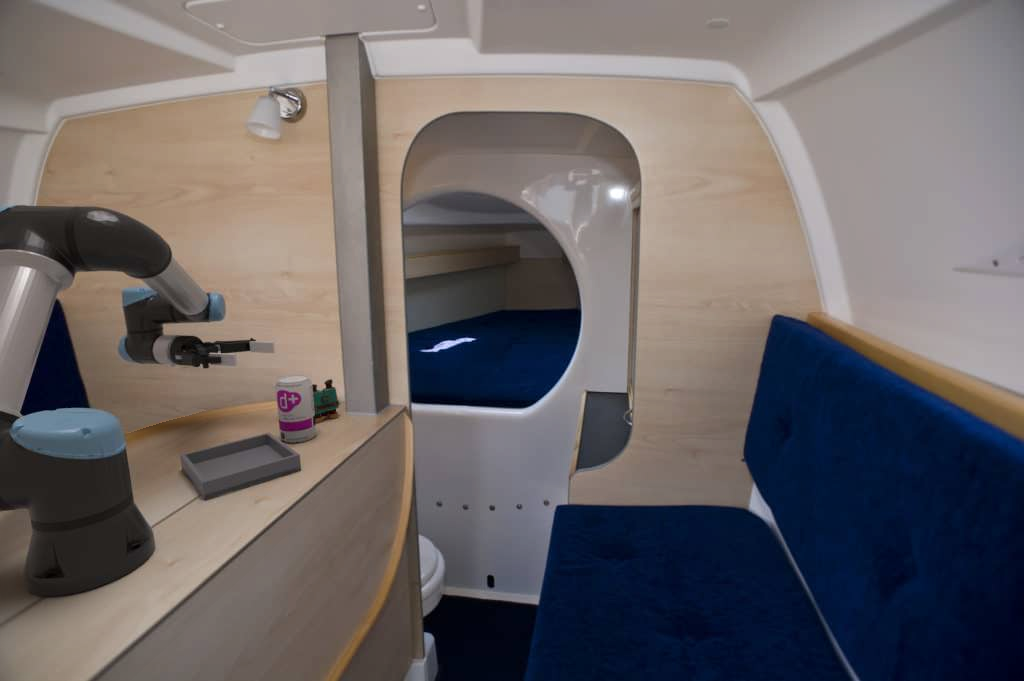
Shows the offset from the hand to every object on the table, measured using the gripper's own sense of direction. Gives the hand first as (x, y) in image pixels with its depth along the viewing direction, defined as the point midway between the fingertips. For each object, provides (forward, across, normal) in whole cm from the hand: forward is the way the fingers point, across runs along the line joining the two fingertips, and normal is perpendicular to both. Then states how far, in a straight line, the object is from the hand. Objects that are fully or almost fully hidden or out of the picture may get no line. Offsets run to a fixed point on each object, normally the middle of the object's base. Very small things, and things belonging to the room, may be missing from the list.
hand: (255, 353), depth 124 cm
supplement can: (+10, 0, -21) cm, 23 cm away
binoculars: (+7, -14, -21) cm, 26 cm away
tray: (+9, +19, -21) cm, 30 cm away
